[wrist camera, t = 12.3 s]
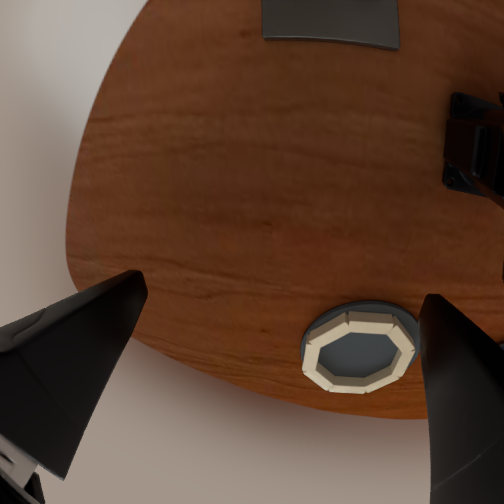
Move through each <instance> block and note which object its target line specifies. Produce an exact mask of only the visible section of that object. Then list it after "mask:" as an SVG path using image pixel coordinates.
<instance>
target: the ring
mask: <svg viewBox="0 0 504 504" xmlns="http://www.w3.org/2000/svg"><path fill="white" fill-rule="evenodd" d="M350 332H356V333H371V334H387V335H388V337H389V338H390V339H391V340H392V341H393V342H394V344H395V345H396V346H397V347H398V350H397V352H396V355H395V357H394V359H393V361H392V363H391V365H390V366H388V367H386V368H384V369H382V370H380V371H378V372H376V373H373V374H371V375H369V376H367V377H365V378H360V377H343V376H334V375H333V374H332V373H331V372H329V371H328V370H327V369H326V368H325V367H323V366H322V365H321V364H320V363H319V362H317V361H318V357H319V352H320V348H321V347H323V346H325V345H327V344H329V343H331V342H333V341H335V340H337V339H338V338H340V337H342V336H344V335H346V334H348V333H350ZM414 353H415V345H414V341H413V338H412V337H411V336H410V334H409V333H408V332H407V330H406V329H405V328H404V326H403V325H402V324H401V323H400V321H399V320H398V319H397V317H396V316H394V317H392V314H382V313H368V312H355V311H349V314H348V315H347V314H346V313H345V312H344V313H342V314H341V315H339V316H337V317H336V318H334V319H332V320H330V321H329V322H327V323H325V324H323V325H321V326H320V327H318V328H316V329H314V330H312V331H311V332H310V335H307V341H306V347H305V353H304V359H303V366H302V371H303V373H304V374H305V375H306V376H308V377H309V378H310V379H312V380H313V381H314V382H315V383H317V384H318V385H319V386H321V387H322V388H323V389H325V390H329V392H342V393H362V394H364V393H365V391H366V392H367V393H369V392H371V391H373V390H376V389H378V388H380V387H382V386H385V385H387V384H389V383H391V382H393V381H395V380H398V379H399V376H400V377H402V376H403V374H404V372H405V370H406V368H407V366H408V365H409V363H410V361H411V359H412V357H413V355H414Z"/></svg>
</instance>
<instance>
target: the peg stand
mask: <svg viewBox="0 0 504 504" xmlns="http://www.w3.org/2000/svg"><path fill="white" fill-rule="evenodd" d="M262 37H263V38H264V40H266V41H268V40H297V41H320V42H334V43H344V44H353V45H361V46H368V47H375V48H381V49H387V50H392V51H397V50H399V49H400V34H399V18H398V6H397V0H262Z"/></svg>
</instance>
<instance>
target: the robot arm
mask: <svg viewBox="0 0 504 504" xmlns="http://www.w3.org/2000/svg"><path fill="white" fill-rule="evenodd" d="M498 93H499V98H500V103H502V105H503V107H500V106H498V105H495V104H493V103H490V102H488V101H485V100H482V99H479V98H476V97H473V96H470V95H467V94H464V93H461V92H454V93H453V94H452V95H451V106H450V118H449V119H448V120H447V126H446V137H445V146H444V154H443V157H444V159H445V165H444V172H443V178H442V182H443V185H444V186H445V187H446V188H448V189H450V190H455V191H460V192H465V193H470V194H474V195H479V196H483V197H488V198H490V199H491V200H492V201H494V202H495V203H496V204H497V205H499V206H500V207H501V208H502V209H504V92H498ZM457 96H459V97H460V100H461V101H460V103H458V102H457ZM450 178H451V179H452V181H451V183H450V184H448V179H450ZM502 279H503V282H504V262H503V274H502ZM147 296H148V290H147V287H146V283H145V280H144V276H143V273H142V272H141V271H139V270H128V271H126V272H123V273H121V274H119V275H117V276H114V277H112V278H110V279H107V280H105V281H103V282H101V283H98V284H96V285H94V286H92V287H89V288H87V289H85V290H83V291H81V292H78V293H76V294H74V295H72V296H70V297H68V298H65V299H63V300H61V301H59V302H57V303H54V304H52V305H50V306H48V307H46V308H44V309H41V310H39V311H37V312H35V313H33V314H31V315H28V316H26V317H24V318H22V319H19V320H17V321H15V322H12V323H10V324H7V325H5V326H3V327H0V504H45V500H44V496H43V491H42V488H41V483H40V478H39V475H38V474H37V473H36V472H34V470H35V469H36V467H37V465H38V464H39V465H40V466H41V467H43V468H44V469H46V470H47V471H49V472H50V473H51V474H53V475H55V476H56V477H58V478H59V479H61V480H62V481H64V479H65V477H66V475H67V473H68V470H69V467H70V465H71V462H72V460H73V457H74V455H75V453H76V450H77V448H78V445H79V443H80V441H81V439H82V436H83V434H84V431H85V429H86V427H87V425H88V422H89V420H90V418H91V416H92V413H93V411H94V409H95V407H96V405H97V403H98V401H99V399H100V396H101V394H102V392H103V390H104V388H105V386H106V384H107V382H108V380H109V378H110V376H111V374H112V372H113V370H114V368H115V366H116V364H117V362H118V360H119V358H120V356H121V354H122V352H123V350H124V348H125V346H126V344H127V342H128V341H129V339H130V337H131V335H132V333H133V330H134V328H135V326H136V323H137V321H138V318H139V316H140V313H141V311H142V309H143V306H144V304H145V302H146V299H147ZM418 326H419V337H420V351H421V365H422V373H423V379H424V387H425V394H426V403H427V412H428V423H429V435H430V436H429V437H430V459H431V489H430V490H431V492H430V504H504V350H503V349H502V348H501V347H500V346H499V345H498V344H497V343H496V342H495V341H494V340H492V339H491V338H490V337H489V336H488V335H487V334H486V333H485V332H484V331H482V330H481V329H480V328H479V327H478V326H477V325H476V324H474V323H473V322H472V321H471V320H470V319H469V318H468V317H466V316H465V315H464V314H463V313H462V312H460V311H459V310H458V309H457V308H456V307H455V306H453V305H452V304H451V303H450V302H448V301H447V300H446V299H445V298H444V297H442V296H441V295H440V294H427V295H426V297H425V299H424V302H423V305H422V308H421V311H420V314H419V317H418Z"/></svg>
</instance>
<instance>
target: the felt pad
mask: <svg viewBox="0 0 504 504" xmlns="http://www.w3.org/2000/svg"><path fill="white" fill-rule="evenodd" d="M349 311H355V312H368V313H382V314H392V317H394V316H396V317H397V319H398V320H399V321H400V323H401V324H402V325H403V326H404V328H405V329H406V330H407V332H408V333H409V334H410V336H411V337H412V338H413V341H414V345H415V353H414V355H413V357H412V359H411V361H410V363H409V365H408V366H407V368H408V367H409V366H410V365H411V364H412V363H413V361H414V360H415V359H416V357H417V355H418V353H419V351H420V337H419V326H418V322H417V321H416V319H415V318H414V317H413V315H412V314H410V313H409V312H408V311H407V310H405V309H403V308H402V307H400V306H397V305H395V304H392V303H388V302H383V301H358V302H353V303H348V304H345V305H341V306H339V307H336V308H334V309H332V310H330V311H328V312H326V313H324V314H323V315H321V316H320V317H319V318H317V319H316V320H315V321H314V322H313V323H312V324H311V325H310V326H309V328H308V329H307V331H306V332H305V334H304V336H303V338H302V342H301V351H300V353H301V358H302V361H303V359H304V353H305V347H306V341H307V335H310V332H311V331H312V330H314V329H316V328H318V327H320V326H321V325H323V324H325V323H327V322H329V321H330V320H332V319H334V318H336V317H337V316H339V315H341V314H342V313H344V312H345V313H346V314H347V315H348V314H349ZM397 350H398V347H397V346H396V345H395V344H394V342H393V341H392V340H391V339H390V338H389V337H388V335H387V334H371V333H356V332H350V333H348V334H346V335H344V336H342V337H340V338H338V339H337V340H335V341H333V342H331V343H329V344H327V345H325V346H323V347H321V348H320V352H319V357H318V361H317V362H319V363H320V364H321V365H322V366H323V367H325V368H326V369H327V370H328V371H329V372H331V373H332V374H333V375H334V376H343V377H360V378H365V377H367V376H369V375H371V374H373V373H376V372H378V371H380V370H382V369H384V368H386V367H388V366H390V365H391V363H392V361H393V359H394V357H395V355H396V352H397ZM407 368H406V369H407Z"/></svg>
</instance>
